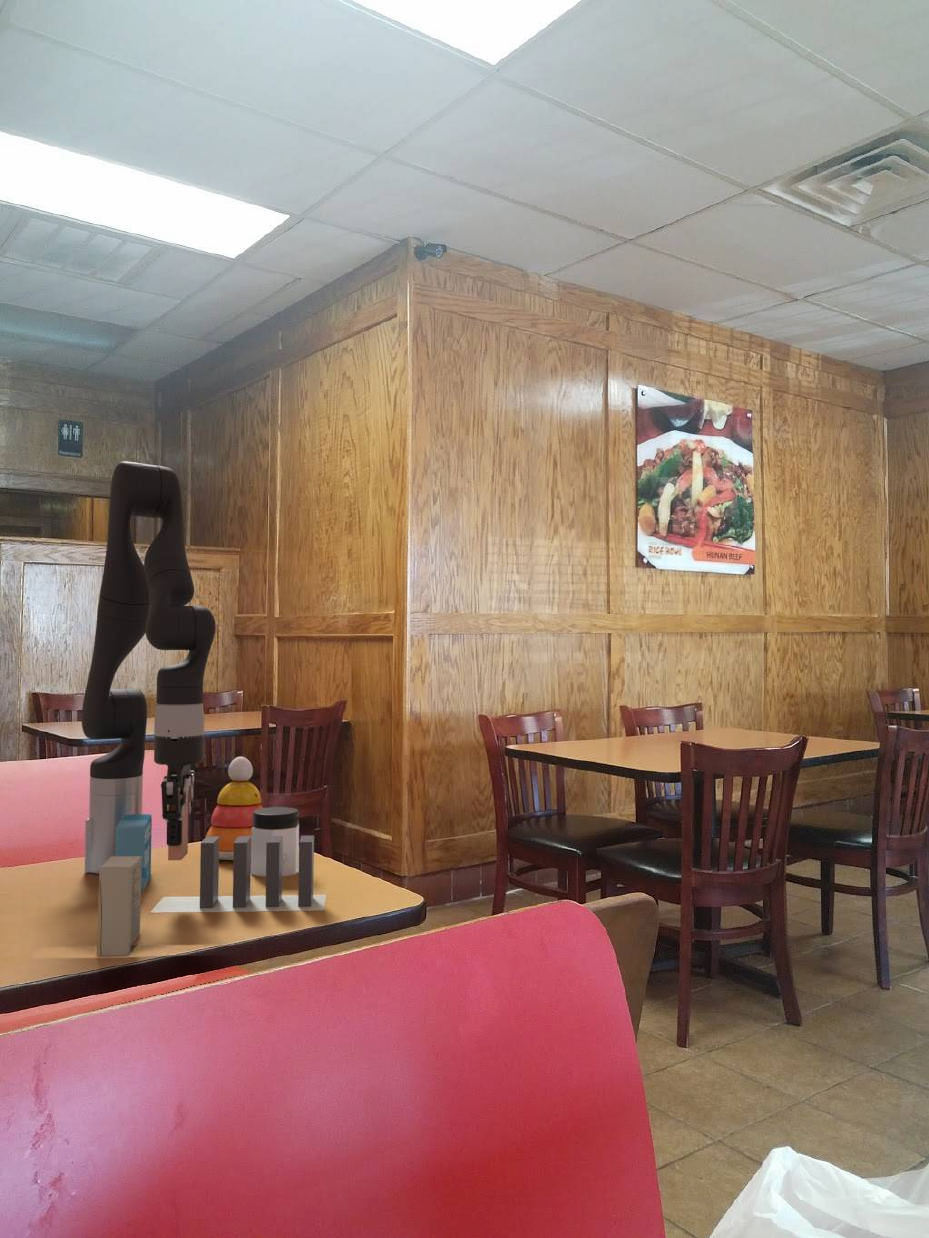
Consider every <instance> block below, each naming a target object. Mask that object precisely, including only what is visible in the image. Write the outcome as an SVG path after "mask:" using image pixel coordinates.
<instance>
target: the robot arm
mask: <svg viewBox="0 0 929 1238" xmlns="http://www.w3.org/2000/svg"><path fill="white" fill-rule="evenodd" d="M177 474H178V473H176V471H175V469H172V468H170V467H167V466H162V465H154V464H149V463H140V462H133V461H120V462H119V463H117V464H116V466H115V468H114V471H113V472H112V476H111V483H110V489H109V490H110V492H109V494H110V495H109V507H108V508H109V509H108V522H107V523H108V526H107V540H106V541H107V542H106V551H105V559H104V565H103V571H102V578H101V585H100V590H99V598H98V605H97V614H96V627H95V634H94V636H95V637H94V643H93V644H94V646H93V650H92V651H93V652H92V657H91V663H90V667H89V672H88V677H87V683H86V687H85V691H84V697H83V700H82V701H83V702H82V708H81V729H82V732H83V734H84V735H85V737H86V738H88V739H90V740H99V741H100V740H115V739H119V740H120V742H119V744H118V745H117V746H116V747H115V748H114V749H113V750H112V751H110V752H107V753H106V754H105V755H102V756H100V757H97V758H95V759H94V760H92V761H91V763H90V765H89V766H90V767H89V807H88V808H89V813H88V814H89V815H88V818H87V819H85V832H84V837H85V838H84V873H91V874H96V875H97V874H98V875H99V871H100V866H101V865H102V864H103V863H104V862H105V861H106V860H108V859H109V858H110V857H111V856H115V850H116V828H117V825H118V824H119V822H120V821H121V819H122V818H123V817H124V815H137V814H143V788H144V787H143V784H144V783H143V781H144V780H143V779H144V776H143V774H144V764H145V763H144V762H145V757H146V756H145V754H146V737H147V724H148V704H147V703H148V702H147V699H146V696H145V694H144V693H143V691H142V690H140V689H138V688H112V684H113V681H114V679H115V676H116V673H117V672H118V669H119V668H120V666H121V665H122V663H123V662H124V660H126V658H127V657H128V655H130V653H131V652H132V651H133V649H134V648H135V647H136V646H137V645H138V644H139V643H140V641H141V640H142V639H143V637H144V636H145V637H146V640H147V641H148V643H149V644H150V645H151V646H152V647H153V648H154V649H156V650H161V651H188V653H187V656H186V658H185V659H184V660H183V661H182V662H179V663H177V664H176V663H175V664H170V665H166V666H163V667H161V668H160V669H158V671H157V673H156V674H157V676H156V706H155V707H156V708H155V713H154V726H153V727H154V732H153V733H154V737H153V740H154V741H153V747H154V748H153V762H154V763H155V764H157V765H161V766H163V765H164V766H167V771H166V773H167V774H166V775H165V776H163V779H162V781H161V784H160V788H161V808H162V810H161V811H162V815H161V817H162V819H163V820H165V822H166V845H167V847H168V846H179V845H181V843H182V820H183V809H184V806H186V805H187V800H188V837H189V836H190V814H191V812H192V809H193V807H194V795H195V794H194V792H195V778H196V777H195V776H196V772H195V770H191V765H197V764H200V763H202V762H204V759H205V714H204V713H205V712H204V704H203V703H204V678H205V677H204V676H205V671H206V667H207V666H206V665H207V662H208V658H209V656H210V655H209V654H210V653H211V652H210V651H211V649H212V645H213V643H214V642H213V641H214V639H215V636H216V635H215V634H216V629H217V627H216V626H217V625H216V624H217V623H216V619H215V617H214V614H213V612H212V611H211V610H210V609H209V608H208V607H206V606H203V605H201V606H199V605H188V604H189V603H190V602H191V601H192V599H193V598H194V595H195V585H194V582H193V581H194V580H193V578H192V574H191V569H190V565H189V562H188V558H187V552H186V545H185V544H186V542H185V525H184V523H185V522H184V513H183V512H184V511H183V501H182V499H183V498H182V487H181V484H180V480H179V477H178V475H177ZM132 516H134V517H143V518H152V519H161V521H162V522H161V523H162V524H161V528H160V530H159V532H158V533H157V535H156V536H155V537H154V539H153V540H152V541H151V542H150V544H149V546H148V548H147V550H146V552H145V554H144V561H142V559H141V557H140V555H139V553H138V550H137V548H136V545H135V544H134V541H133V538H132V537H133V536H132V530H131V529H132V527H131V521H132ZM180 795H183V798H182V799H181V800H180ZM172 805H175V807H176V811H170V807H171V806H172Z"/></svg>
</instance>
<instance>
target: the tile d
mask: <svg viewBox="0 0 929 1238" xmlns="http://www.w3.org/2000/svg"><path fill="white" fill-rule="evenodd" d="M282 849H283V836H270V837H269V839H268V841H267V842H266V877H265V895H266V907H279V905H280V902H281V899H282V895H283V876H282Z"/></svg>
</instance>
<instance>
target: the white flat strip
mask: <svg viewBox="0 0 929 1238" xmlns="http://www.w3.org/2000/svg"><path fill="white" fill-rule="evenodd" d="M326 900H327V894H313V901H312V905H311V907H298V894H285V895H283V894H282V899H281V902H280V905H279V907H266V894H265V895H250V900H249V902H248V904H247V906H246V908H233V895H218V901H217V902H216V904H215V906H214V907H213V908H200V895H199V896H198V895H197V896H194V895H193V896H162V898H161V899H160V900H159V902H158V903H156V905H155V906H154V908H153V909H152V910H151V911H150V913H149V914H173V913H174V914H179V913H185V914H186V913H235V912H237V913H239V912H241V913H242V912H243V913H245V912H248V913H249V912H296V911H297V912H299V911H300V912H303V911H304V912H306V911H307V912H310V911H313V912H314V911H324V910H325V904H326Z"/></svg>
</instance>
